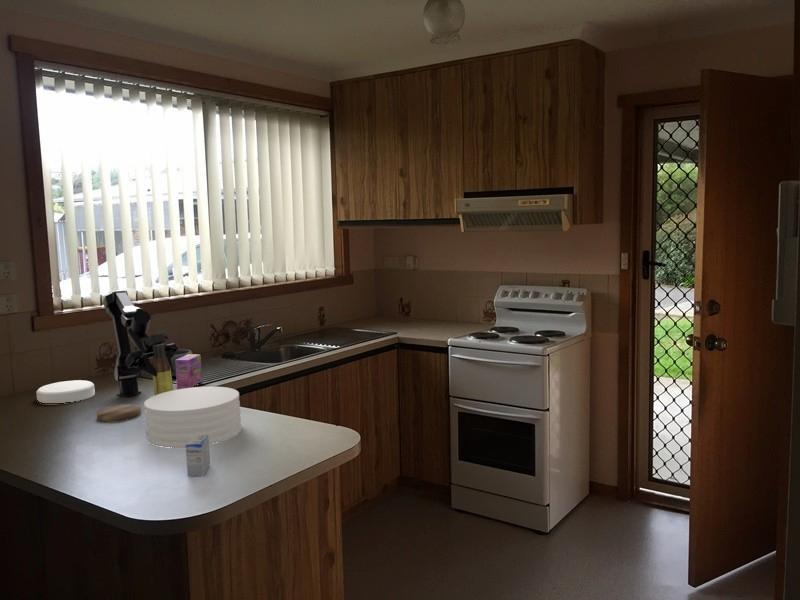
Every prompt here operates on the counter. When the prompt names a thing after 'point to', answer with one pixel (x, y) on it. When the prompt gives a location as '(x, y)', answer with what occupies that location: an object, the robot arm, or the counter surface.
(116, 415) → the stand
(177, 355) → the bowl
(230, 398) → the plate stack
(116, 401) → the counter surface
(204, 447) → the medicine box
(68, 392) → the container
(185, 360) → the box
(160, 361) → the sauce bottle
